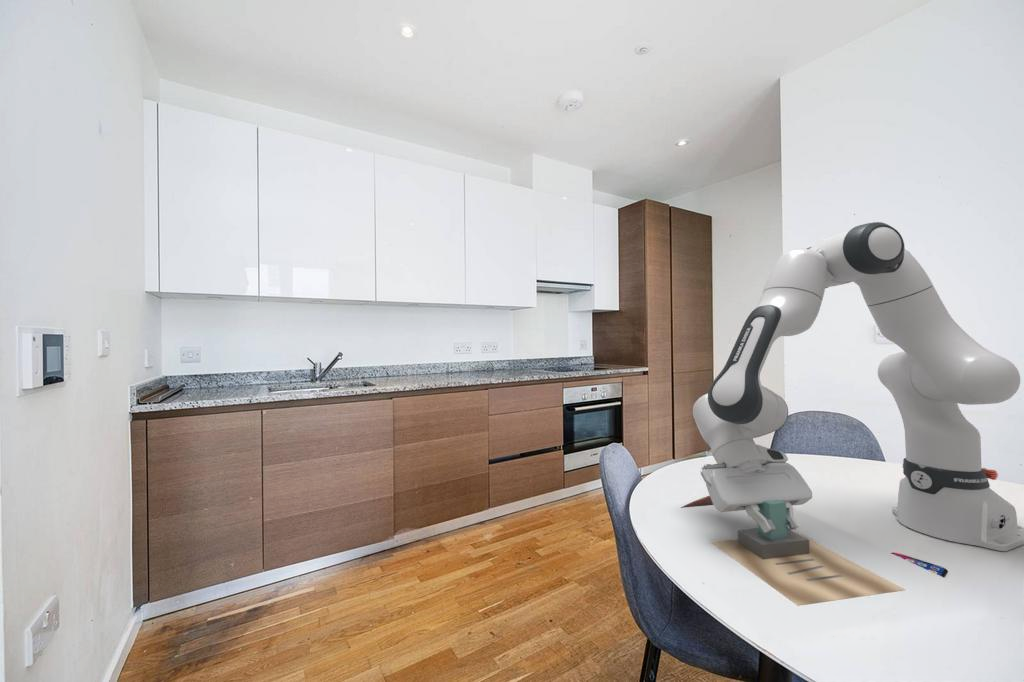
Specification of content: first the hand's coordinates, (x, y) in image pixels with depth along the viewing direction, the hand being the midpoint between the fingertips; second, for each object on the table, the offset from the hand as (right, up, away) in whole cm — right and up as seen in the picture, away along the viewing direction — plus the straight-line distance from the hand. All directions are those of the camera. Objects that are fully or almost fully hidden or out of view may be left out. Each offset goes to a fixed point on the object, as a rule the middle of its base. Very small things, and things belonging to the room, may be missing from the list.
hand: (781, 530), depth 72 cm
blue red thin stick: (+19, -6, -4) cm, 21 cm away
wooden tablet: (+3, -7, +26) cm, 27 cm away
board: (+1, -6, -3) cm, 7 cm away
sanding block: (0, -4, +2) cm, 5 cm away
